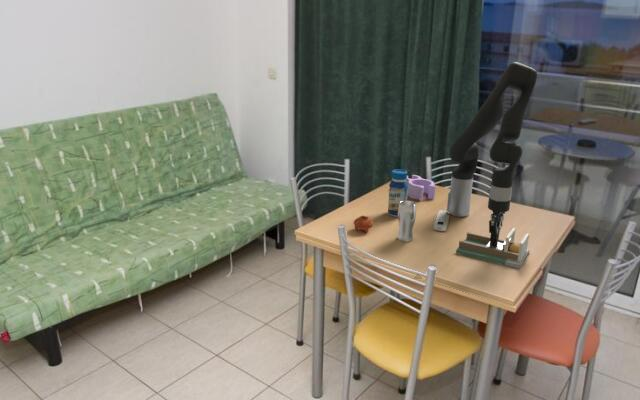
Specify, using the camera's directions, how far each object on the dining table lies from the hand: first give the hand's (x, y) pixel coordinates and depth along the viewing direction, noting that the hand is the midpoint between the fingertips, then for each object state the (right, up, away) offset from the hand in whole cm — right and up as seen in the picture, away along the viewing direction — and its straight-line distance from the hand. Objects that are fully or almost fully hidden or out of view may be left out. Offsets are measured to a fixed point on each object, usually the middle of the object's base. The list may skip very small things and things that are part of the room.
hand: (494, 240), depth 194 cm
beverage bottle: (-31, +9, +39) cm, 50 cm away
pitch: (0, -5, +2) cm, 5 cm away
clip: (-16, +18, +65) cm, 69 cm away
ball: (+7, -3, -3) cm, 8 cm away
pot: (-47, +2, +21) cm, 52 cm away
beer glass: (-31, -1, +14) cm, 34 cm away
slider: (+1, -3, 0) cm, 4 cm away
